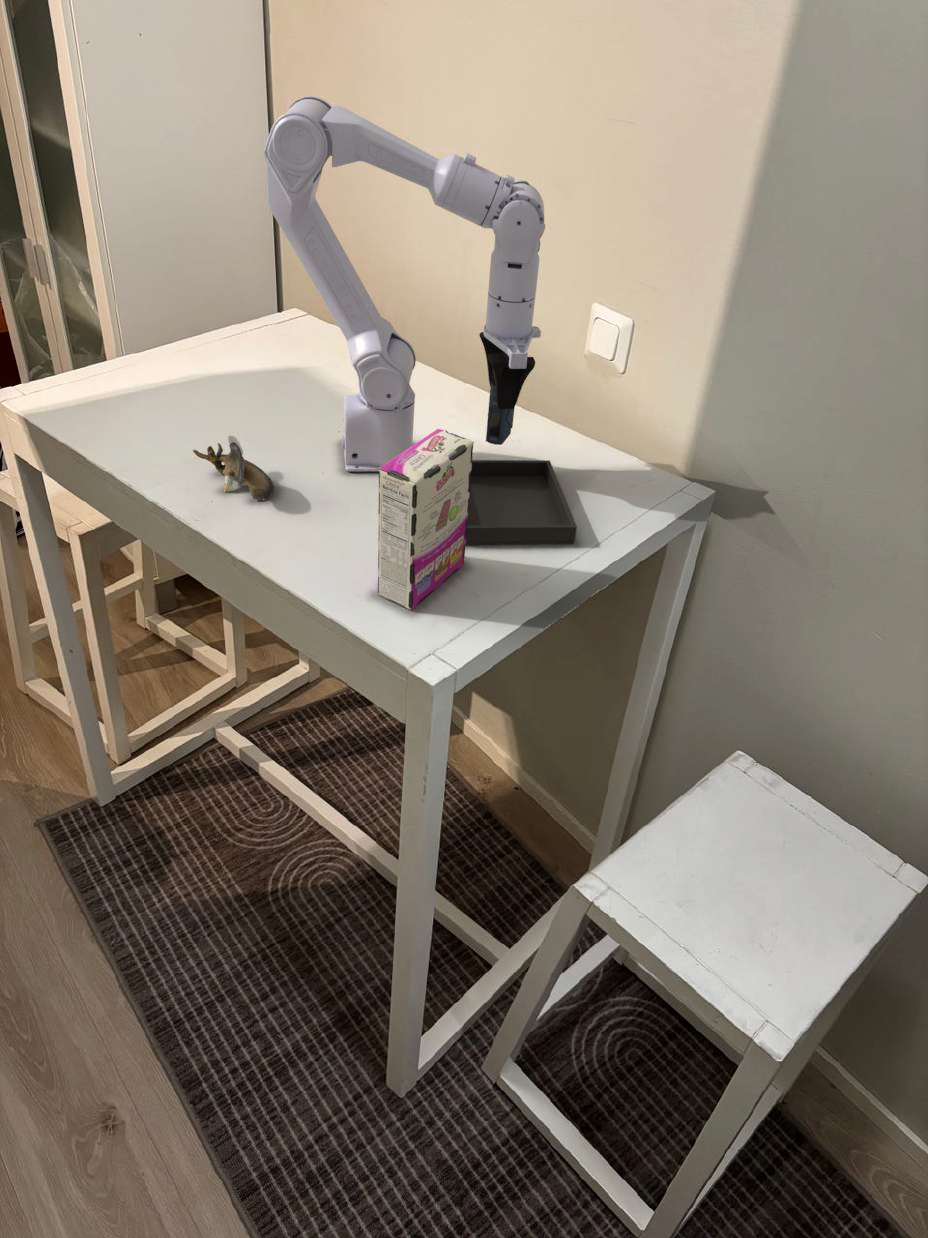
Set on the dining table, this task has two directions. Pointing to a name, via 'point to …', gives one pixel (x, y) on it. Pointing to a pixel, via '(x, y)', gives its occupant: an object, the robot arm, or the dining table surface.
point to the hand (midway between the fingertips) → (502, 398)
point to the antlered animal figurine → (239, 469)
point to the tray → (517, 504)
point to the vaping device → (498, 419)
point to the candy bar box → (423, 517)
